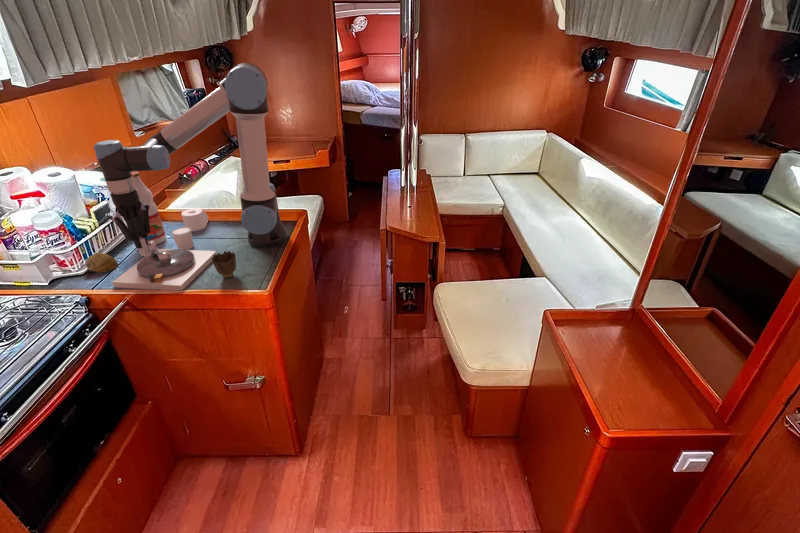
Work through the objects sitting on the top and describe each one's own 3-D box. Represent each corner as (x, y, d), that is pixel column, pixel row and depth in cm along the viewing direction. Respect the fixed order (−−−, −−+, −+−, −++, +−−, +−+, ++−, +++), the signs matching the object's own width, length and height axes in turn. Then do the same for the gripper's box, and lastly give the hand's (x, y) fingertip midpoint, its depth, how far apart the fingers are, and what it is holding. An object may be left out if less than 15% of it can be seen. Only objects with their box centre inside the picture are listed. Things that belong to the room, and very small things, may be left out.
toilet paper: (209, 219, 188) (205, 205, 185) (203, 230, 179) (199, 215, 175) (190, 221, 187) (186, 206, 184) (183, 231, 178) (178, 216, 174)
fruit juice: (169, 234, 175) (148, 168, 161) (163, 244, 167) (140, 176, 153) (144, 237, 174) (121, 170, 160) (137, 247, 166) (112, 177, 152)
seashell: (116, 273, 157) (101, 255, 156) (126, 263, 154) (111, 245, 153) (92, 282, 148) (77, 264, 147) (103, 271, 145) (87, 253, 144)
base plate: (217, 255, 159) (214, 244, 156) (182, 290, 138) (178, 278, 136) (157, 253, 161) (153, 242, 159) (114, 287, 140) (109, 275, 138)
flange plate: (204, 254, 155) (200, 237, 152) (172, 283, 138) (166, 265, 134) (159, 251, 157) (153, 235, 154) (121, 280, 140) (114, 262, 136)
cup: (218, 284, 141) (213, 263, 137) (215, 274, 147) (210, 254, 143) (241, 278, 144) (236, 258, 140) (237, 269, 150) (232, 249, 146)
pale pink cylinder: (198, 243, 168) (194, 227, 164) (189, 251, 162) (184, 234, 159) (182, 242, 169) (177, 226, 165) (172, 250, 163) (167, 234, 159)
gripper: (132, 183, 143) (153, 245, 154) (95, 195, 132) (120, 261, 144) (148, 185, 140) (168, 248, 152) (112, 198, 130) (136, 265, 141)
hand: (145, 254), depth 148 cm, fingers closed
